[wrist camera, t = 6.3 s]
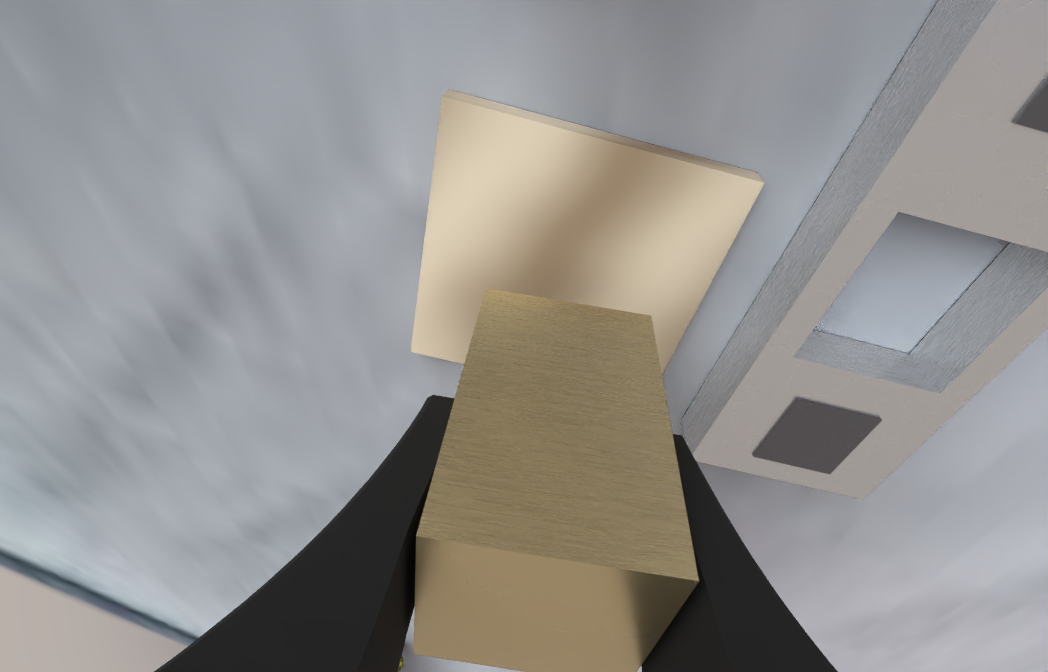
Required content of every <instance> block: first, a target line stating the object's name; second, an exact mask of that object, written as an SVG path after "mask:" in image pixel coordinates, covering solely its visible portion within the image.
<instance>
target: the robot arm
mask: <svg viewBox="0 0 1048 672" xmlns="http://www.w3.org/2000/svg"><path fill="white" fill-rule="evenodd" d="M454 399H455V398H449V397H442V396H436V395H432V396H430V397H428V398H427V400H426V402H425V403H424V405H423V407H422V409H421V410H420V412H419V413H418V415H417V416H416V418H415V419H414V421H413V422H412V424H411V425H410V427H409V428H408V430H407V431H406V432H405V434H404V435H403V437H402V438H401V439H400V441H399V442H398V443H397V445H396V446H395V447H394V449H393V450H392V451H391V452H390V454H389V455H388V456H387V458H386V459H385V460H384V461H383V463H382V464H381V465H380V466H379V468H378V469H377V470H376V471H375V473H374V474H373V475H372V476H371V477H370V479H369V480H368V481H367V482H366V483H365V484H364V485H363V487H362V488H361V489H360V490H359V491H358V492H357V493H356V494H355V496H354V497H353V498H352V499H351V500H350V501H349V502H348V503H347V505H346V506H345V507H344V508H343V509H342V510H341V511H340V512H339V513H338V514H337V515H336V516H335V518H334V519H333V520H332V521H331V522H330V523H329V524H328V525H327V526H326V527H325V528H324V529H323V530H322V531H321V532H320V533H319V534H318V535H317V536H316V537H315V538H314V539H313V540H312V541H311V542H310V543H309V544H308V545H307V546H306V547H305V548H304V549H303V550H302V551H300V552H299V553H298V554H297V555H296V556H295V557H294V558H293V559H292V560H291V561H290V562H289V563H287V564H286V565H285V566H284V567H283V568H282V569H281V570H280V571H279V572H278V573H276V574H275V575H274V576H273V577H272V578H271V579H270V580H269V581H268V582H267V583H265V584H264V585H263V586H262V587H261V588H260V589H258V590H257V591H256V592H255V593H254V594H253V595H251V596H250V597H249V598H248V599H247V600H246V601H244V602H243V603H242V604H241V605H239V606H238V607H237V608H236V609H234V610H233V611H232V612H231V613H229V614H228V615H227V616H226V617H224V618H223V619H222V620H221V621H220V622H218V623H217V624H216V625H215V626H213V627H212V628H211V629H210V630H208V631H207V632H206V633H205V634H203V635H202V636H201V637H200V638H198V639H197V640H196V641H195V642H193V643H192V644H191V645H190V646H188V647H187V648H186V649H184V650H183V651H182V652H181V653H179V654H178V655H176V656H175V657H174V658H172V659H171V660H170V661H168V662H167V663H166V664H164V665H163V666H161V667H160V668H159V669H157V670H156V671H154V672H398V669H399V664H400V660H401V656H402V651H403V647H404V643H405V639H406V634H407V631H408V627H409V623H410V620H411V616H412V613H413V609H414V606H415V566H416V534H417V531H418V527H419V524H420V520H421V517H422V513H423V510H424V506H425V502H426V499H427V495H428V492H429V488H430V485H431V481H432V477H433V474H434V470H435V467H436V463H437V460H438V456H439V452H440V449H441V445H442V442H443V438H444V435H445V431H446V428H447V424H448V420H449V417H450V413H451V410H452V406H453V403H454ZM673 439H674V445H675V450H676V456H677V462H678V467H679V473H680V478H681V484H682V489H683V495H684V501H685V506H686V512H687V517H688V523H689V528H690V534H691V540H692V545H693V551H694V556H695V562H696V567H697V573H698V579H699V582H698V584H697V585H696V586H695V588H694V589H693V591H692V592H691V594H690V595H689V597H688V598H687V600H686V601H685V602H684V604H683V605H682V607H681V608H680V610H679V611H678V613H677V614H676V616H675V617H674V618H673V620H672V621H671V623H670V624H669V626H668V627H667V629H666V630H665V632H664V633H663V634H662V636H661V637H660V639H659V640H658V642H657V643H656V645H655V646H654V648H653V649H652V650H651V652H650V653H649V655H648V656H647V658H646V659H645V661H644V662H643V664H642V672H837V670H836V669H835V668H834V667H833V666H832V665H831V663H830V662H829V661H828V660H827V658H826V657H825V656H824V655H823V653H822V652H821V651H820V650H819V648H818V647H817V646H816V645H815V643H814V642H813V641H812V640H811V638H810V637H809V636H808V635H807V633H806V632H805V631H804V629H803V628H802V627H801V625H800V624H799V623H798V621H797V620H796V619H795V617H794V616H793V615H792V613H791V612H790V611H789V609H788V608H787V607H786V605H785V604H784V602H783V601H782V600H781V598H780V597H779V596H778V594H777V593H776V591H775V590H774V588H773V587H772V586H771V584H770V583H769V581H768V580H767V578H766V577H765V575H764V574H763V572H762V571H761V569H760V568H759V566H758V565H757V563H756V562H755V560H754V559H753V557H752V556H751V554H750V553H749V551H748V549H747V548H746V546H745V545H744V543H743V542H742V540H741V538H740V537H739V535H738V533H737V532H736V530H735V529H734V527H733V525H732V524H731V522H730V520H729V519H728V517H727V515H726V514H725V512H724V510H723V509H722V507H721V505H720V503H719V502H718V500H717V498H716V497H715V495H714V493H713V491H712V489H711V488H710V486H709V484H708V482H707V480H706V479H705V477H704V475H703V473H702V471H701V470H700V468H699V466H698V464H697V462H696V460H695V458H694V457H693V455H692V453H691V451H690V449H689V447H688V445H687V443H686V442H685V440H684V438H683V437H682V436H681V435H675V434H673Z"/></svg>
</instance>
